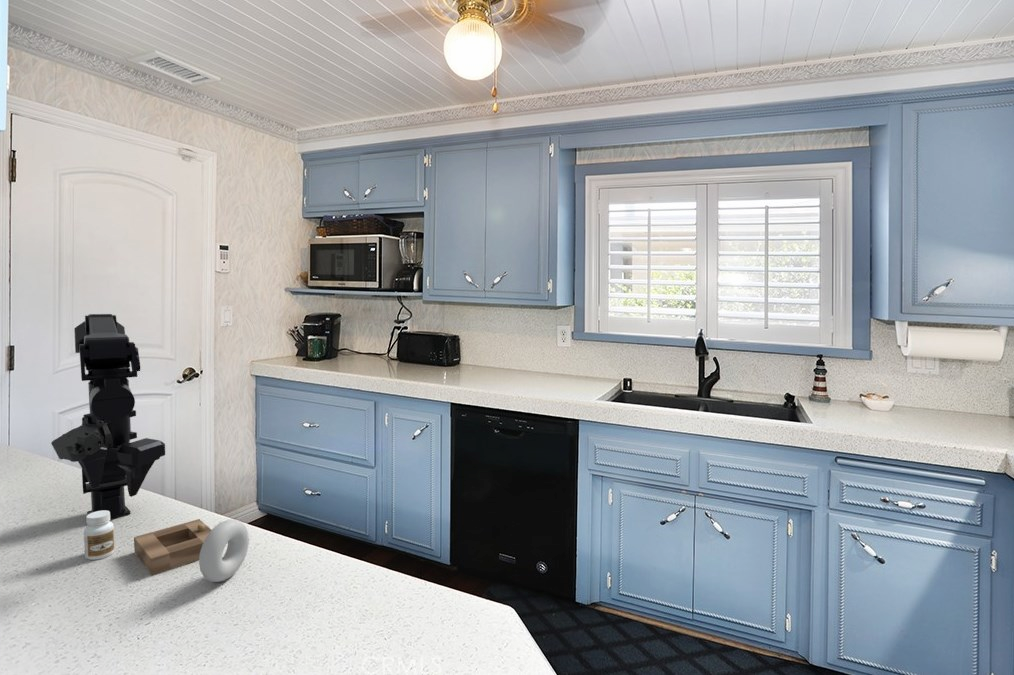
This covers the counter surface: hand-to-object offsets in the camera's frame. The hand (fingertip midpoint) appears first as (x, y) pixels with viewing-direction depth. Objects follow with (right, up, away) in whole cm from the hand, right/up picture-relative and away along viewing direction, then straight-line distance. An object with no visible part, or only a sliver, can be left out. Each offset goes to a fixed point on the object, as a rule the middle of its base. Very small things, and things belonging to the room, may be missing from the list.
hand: (113, 491), depth 96 cm
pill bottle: (-4, -12, +2) cm, 13 cm away
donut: (+23, -14, -5) cm, 27 cm away
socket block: (+10, -12, +3) cm, 16 cm away
